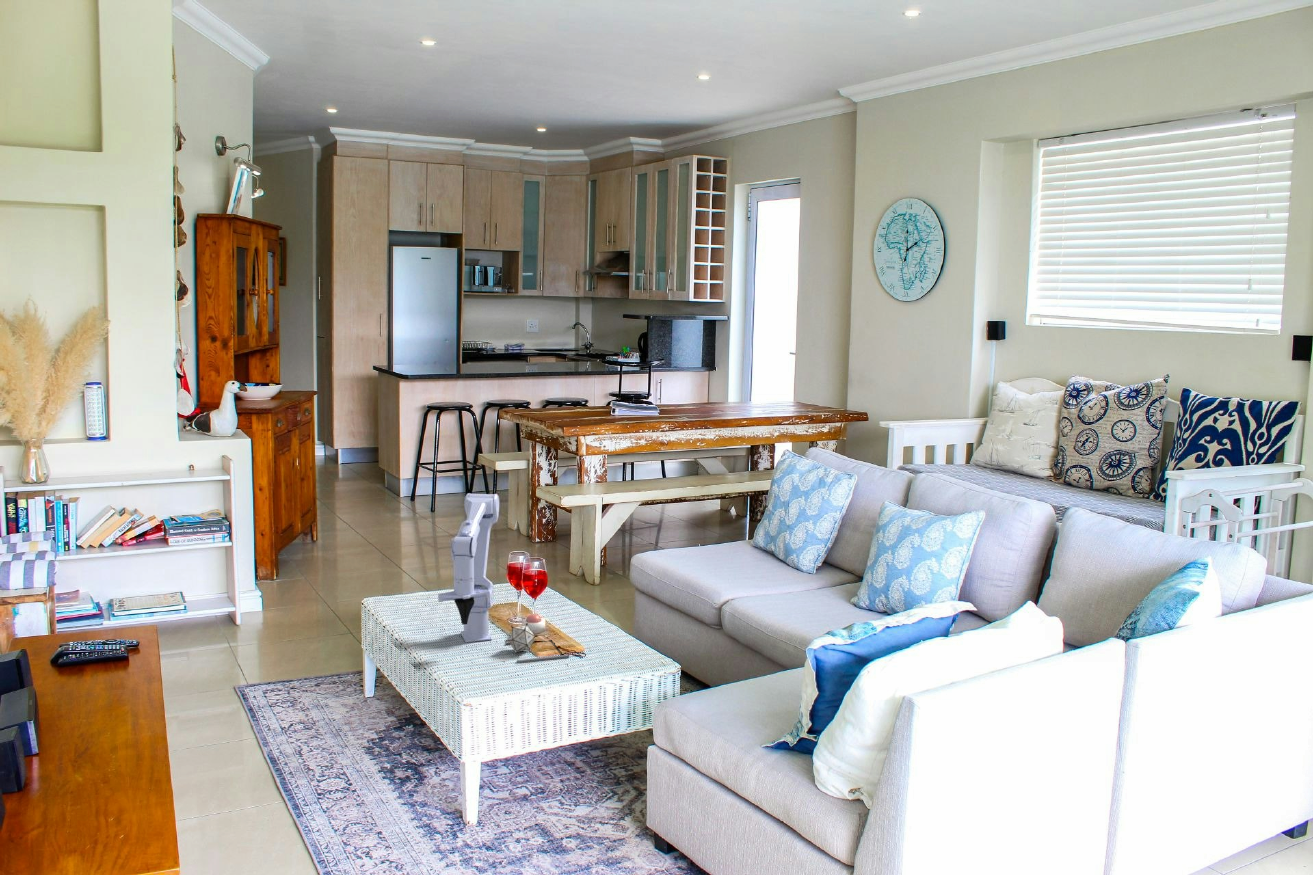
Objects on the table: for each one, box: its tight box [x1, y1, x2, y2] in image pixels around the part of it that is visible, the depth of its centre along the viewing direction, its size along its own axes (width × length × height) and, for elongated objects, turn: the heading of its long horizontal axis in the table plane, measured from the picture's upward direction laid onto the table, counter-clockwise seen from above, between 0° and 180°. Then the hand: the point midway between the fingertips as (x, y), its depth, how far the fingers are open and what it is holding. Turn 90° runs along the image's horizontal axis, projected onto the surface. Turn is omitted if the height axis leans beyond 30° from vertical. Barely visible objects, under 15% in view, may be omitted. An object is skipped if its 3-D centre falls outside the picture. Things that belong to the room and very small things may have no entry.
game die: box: [504, 623, 538, 655], centre depth 305 cm, size 9×8×10 cm
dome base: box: [534, 626, 551, 637], centre depth 320 cm, size 10×10×2 cm
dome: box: [521, 613, 546, 634], centre depth 320 cm, size 7×7×5 cm
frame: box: [504, 641, 570, 664], centre depth 306 cm, size 17×15×1 cm
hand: (464, 623), depth 301 cm, fingers closed
